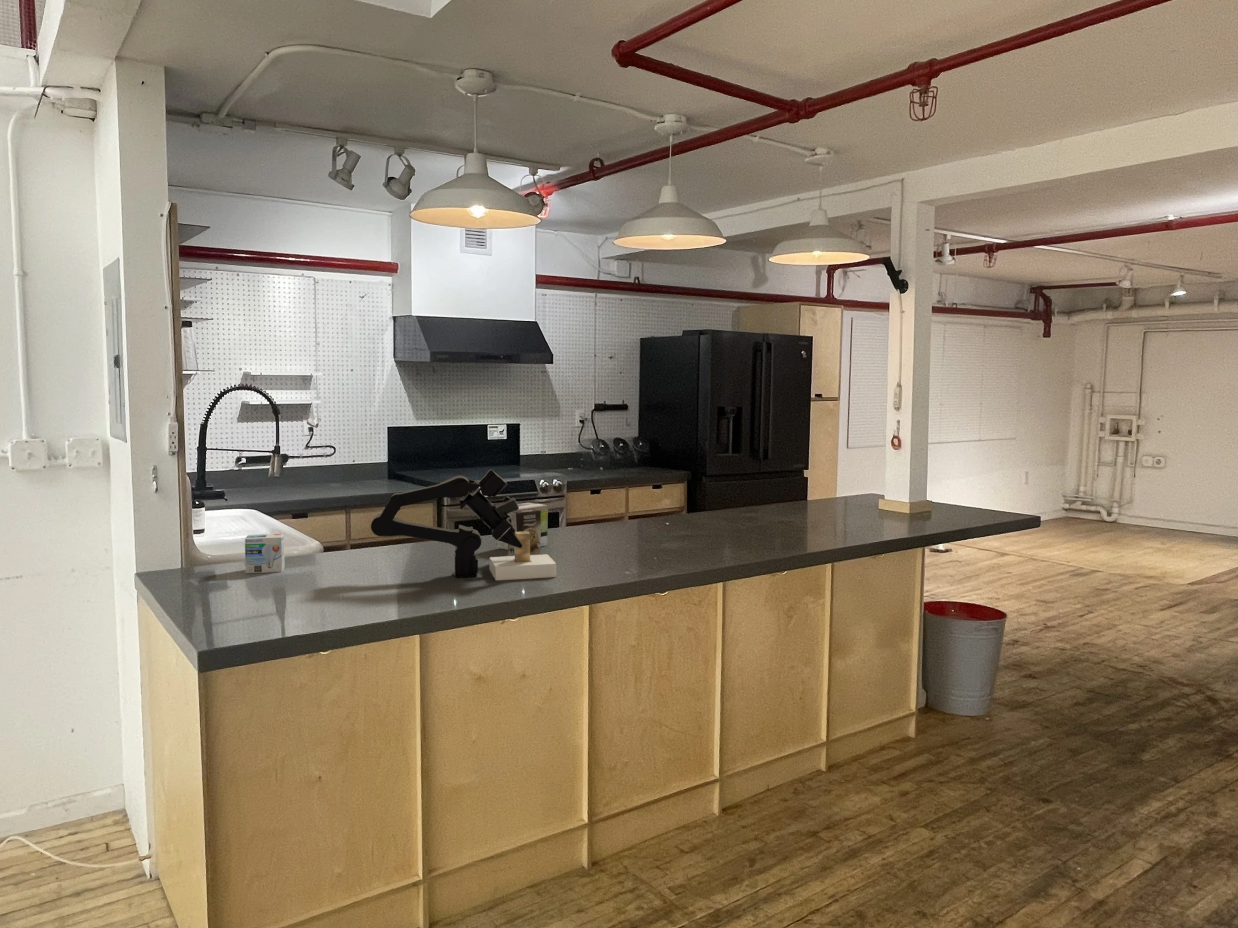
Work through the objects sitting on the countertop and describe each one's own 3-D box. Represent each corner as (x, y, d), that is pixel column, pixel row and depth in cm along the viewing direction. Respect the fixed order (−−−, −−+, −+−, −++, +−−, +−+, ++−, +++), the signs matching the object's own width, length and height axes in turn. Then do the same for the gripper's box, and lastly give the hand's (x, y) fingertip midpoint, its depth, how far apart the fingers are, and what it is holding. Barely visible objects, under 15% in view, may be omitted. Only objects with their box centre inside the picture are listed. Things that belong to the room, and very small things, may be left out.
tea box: (518, 552, 299) (518, 509, 298) (497, 548, 305) (497, 506, 304) (548, 545, 311) (548, 503, 310) (527, 542, 317) (527, 501, 316)
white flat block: (495, 580, 259) (495, 566, 259) (489, 569, 272) (489, 557, 272) (556, 576, 264) (556, 563, 263) (547, 566, 277) (547, 554, 277)
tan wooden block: (516, 575, 266) (516, 534, 264) (514, 572, 270) (514, 531, 268) (530, 574, 267) (530, 533, 265) (527, 571, 271) (527, 531, 269)
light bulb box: (245, 574, 265) (243, 538, 264) (248, 569, 272) (246, 534, 271) (283, 572, 268) (282, 536, 267) (285, 567, 275) (284, 532, 273)
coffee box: (518, 562, 283) (517, 512, 281) (507, 559, 288) (506, 510, 286) (541, 559, 289) (541, 510, 287) (530, 555, 294) (530, 507, 292)
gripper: (503, 493, 255) (541, 530, 258) (502, 485, 274) (537, 519, 277) (476, 521, 255) (514, 557, 258) (476, 511, 273) (512, 545, 276)
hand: (520, 544), depth 267 cm, fingers open, 9 cm apart
